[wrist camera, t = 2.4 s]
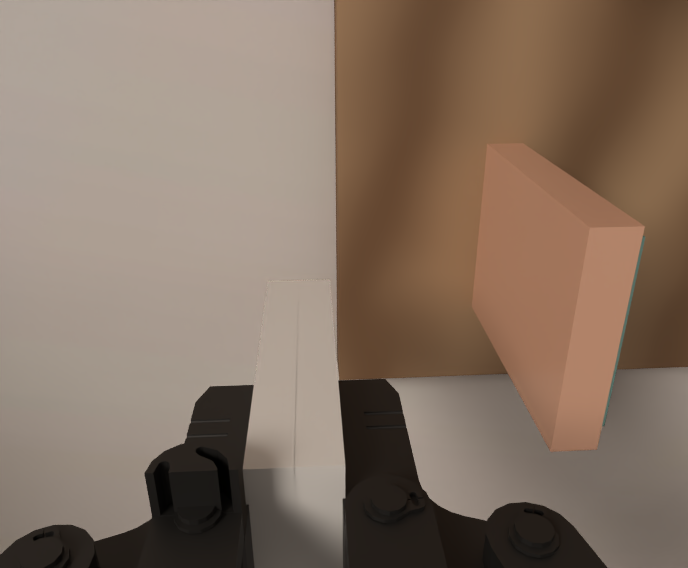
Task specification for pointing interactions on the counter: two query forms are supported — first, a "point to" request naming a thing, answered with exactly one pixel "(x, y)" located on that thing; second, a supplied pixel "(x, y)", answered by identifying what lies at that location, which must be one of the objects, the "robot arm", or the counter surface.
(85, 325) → the counter surface
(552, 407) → the tile
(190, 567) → the robot arm
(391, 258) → the board
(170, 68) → the counter surface
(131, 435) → the counter surface
